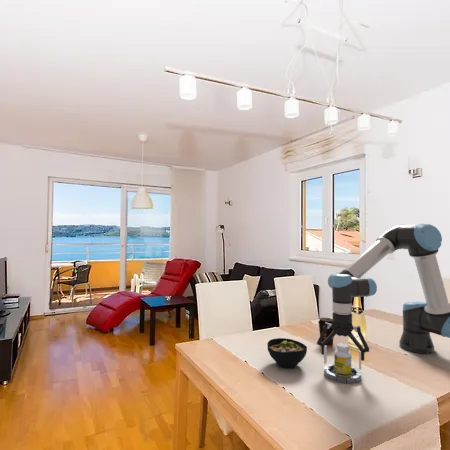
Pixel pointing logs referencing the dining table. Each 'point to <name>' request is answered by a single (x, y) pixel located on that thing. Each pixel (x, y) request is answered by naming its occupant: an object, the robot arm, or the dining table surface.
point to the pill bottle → (342, 360)
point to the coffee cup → (329, 331)
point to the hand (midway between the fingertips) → (342, 365)
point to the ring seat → (351, 379)
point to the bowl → (286, 352)
